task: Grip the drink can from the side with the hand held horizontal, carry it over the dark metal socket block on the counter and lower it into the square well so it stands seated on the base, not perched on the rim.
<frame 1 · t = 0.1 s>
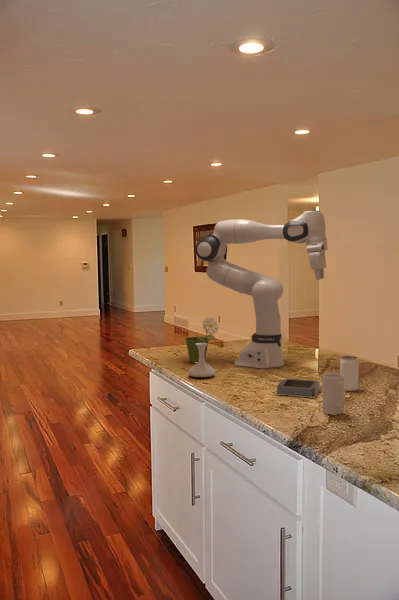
hand: (320, 279, 234), 39 cm above the counter, tool pointing down, fingers open, 8 cm apart
flower in vase: (204, 376, 226), on the counter
plant pot: (197, 362, 255), on the counter
can: (349, 389, 201), on the counter
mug: (335, 414, 171), on the counter
socket block: (298, 391, 198), on the counter
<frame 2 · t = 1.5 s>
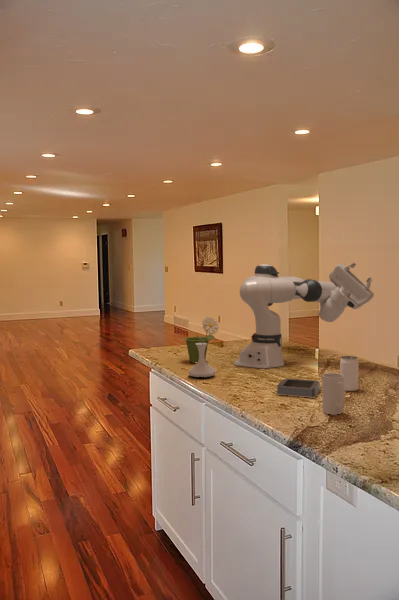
hand: (362, 271, 226), 42 cm above the counter, tool pointing upward, fingers open, 8 cm apart
nothing on the counter moved.
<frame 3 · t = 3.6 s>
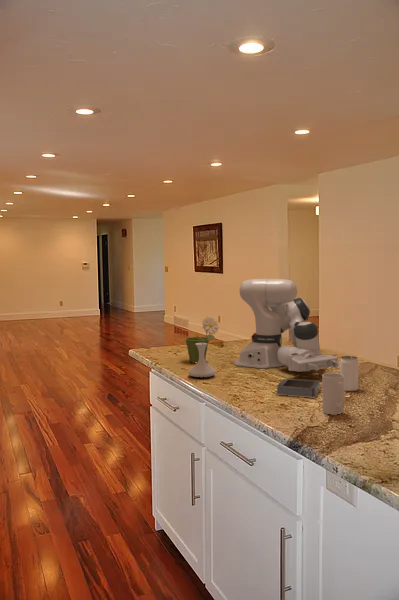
hand: (327, 366, 211), 6 cm above the counter, tool horizontal, fingers open, 8 cm apart
nothing on the counter moved.
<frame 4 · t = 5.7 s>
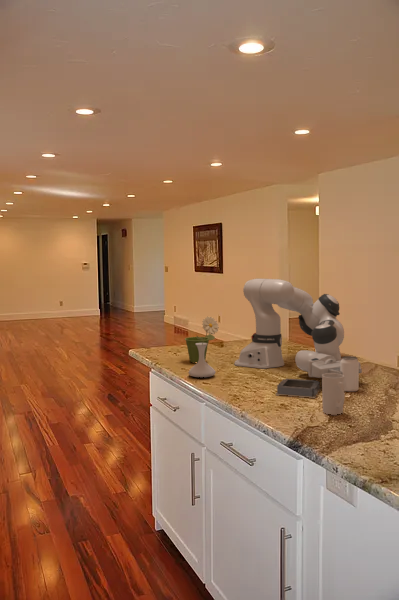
hand: (350, 372, 200), 6 cm above the counter, tool horizontal, fingers open, 8 cm apart
can: (349, 390, 200), on the counter, touching gripper
everything else where it was.
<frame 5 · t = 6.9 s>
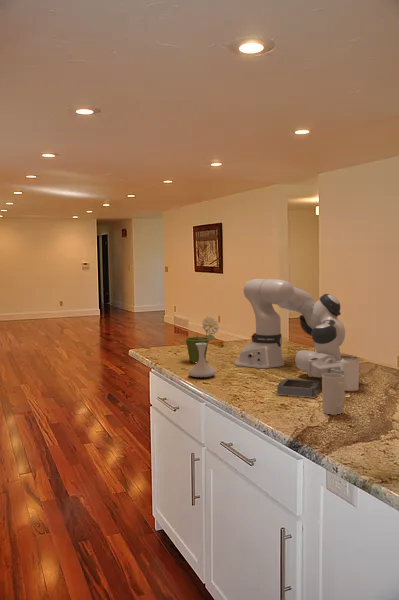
hand: (350, 372, 199), 7 cm above the counter, tool horizontal, fingers closed on can, 6 cm apart
can: (349, 390, 200), on the counter, touching gripper
everything else where it was.
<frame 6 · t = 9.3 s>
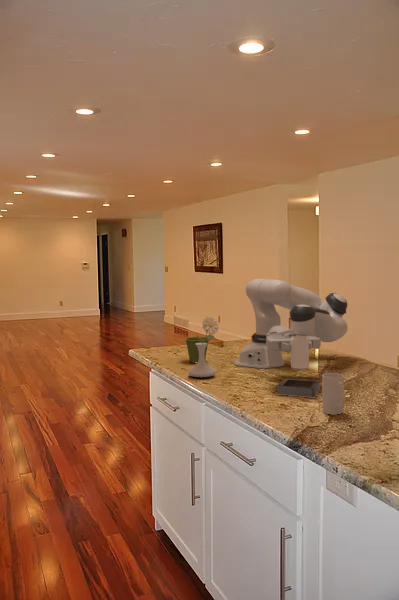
hand: (299, 346, 196), 17 cm above the counter, tool horizontal, fingers closed on can, 6 cm apart
can: (299, 368, 197), point 9 cm above the counter, touching gripper
everything else where it was.
when the fingers open (8 cm above the counter, at t = 11.7 s): can stays where it is, resting on socket block.
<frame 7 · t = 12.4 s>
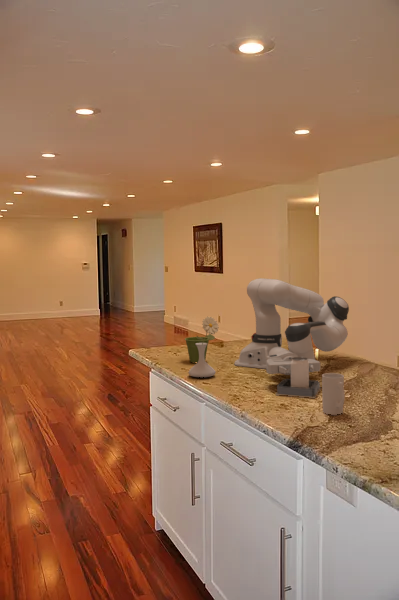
hand: (299, 370, 197), 8 cm above the counter, tool horizontal, fingers open, 8 cm apart
can: (299, 391, 198), resting on socket block
everything else where it was.
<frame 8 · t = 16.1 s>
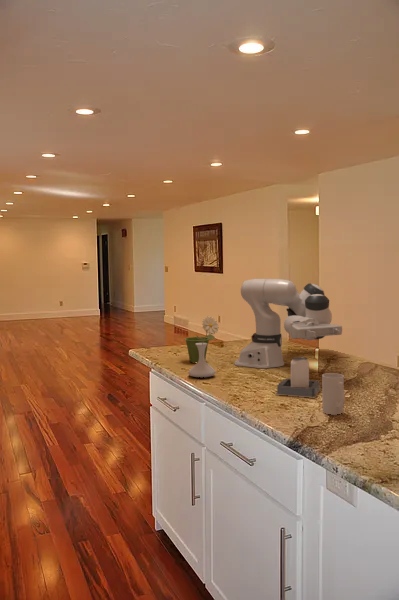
hand: (327, 333, 205), 20 cm above the counter, tool horizontal, fingers open, 8 cm apart
nothing on the counter moved.
at the end: can inside the target area on the socket block (0.8 cm from its centre), point 0.3 cm above the socket block's base; can tilted 0°; the gripper is holding nothing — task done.
